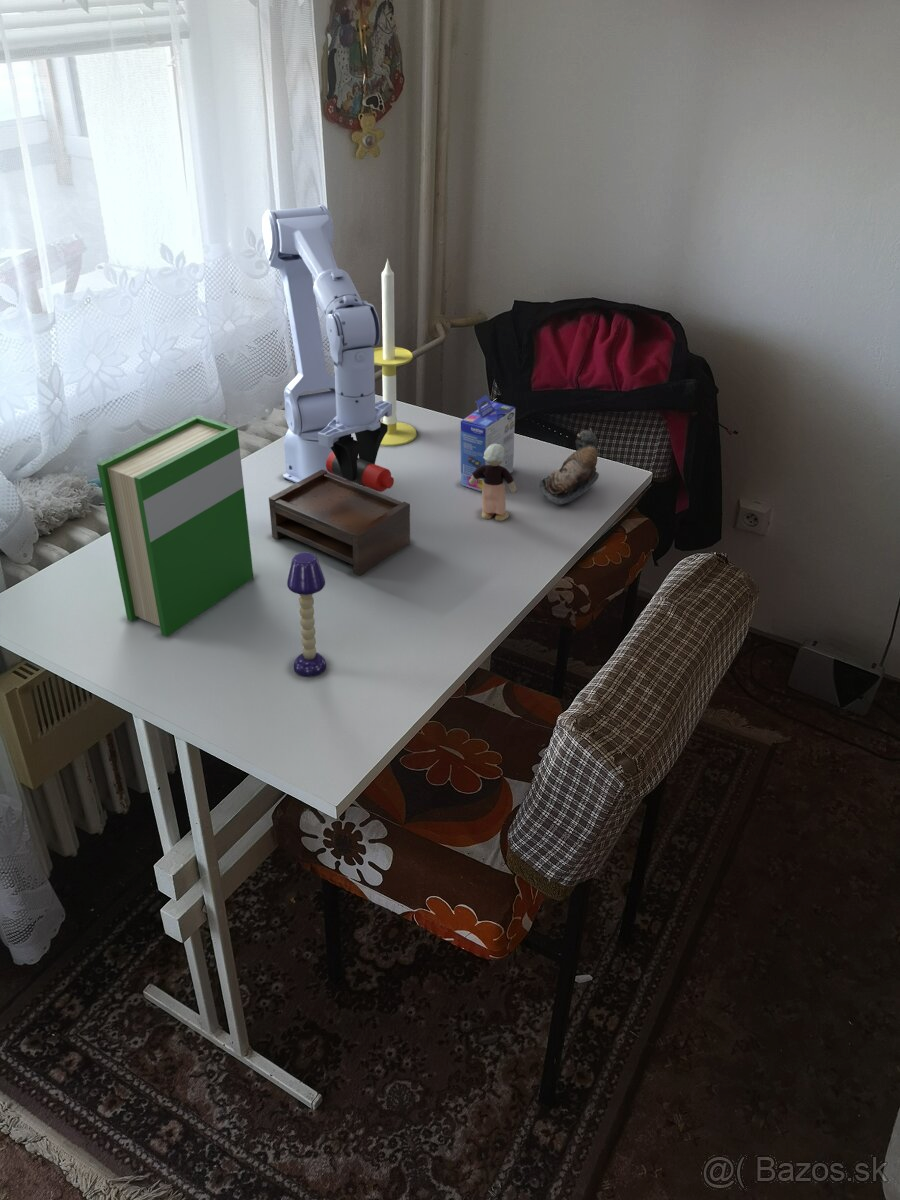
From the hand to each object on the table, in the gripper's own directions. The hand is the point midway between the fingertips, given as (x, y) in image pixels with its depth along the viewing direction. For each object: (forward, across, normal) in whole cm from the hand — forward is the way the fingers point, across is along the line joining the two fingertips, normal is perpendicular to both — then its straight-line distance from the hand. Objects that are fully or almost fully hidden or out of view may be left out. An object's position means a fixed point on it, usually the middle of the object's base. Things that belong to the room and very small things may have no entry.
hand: (358, 473), depth 157 cm
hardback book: (+11, -29, +7) cm, 31 cm away
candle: (+11, +30, +18) cm, 37 cm away
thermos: (+1, 0, 0) cm, 1 cm away
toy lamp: (+11, -30, -17) cm, 36 cm away
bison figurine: (+11, +31, -20) cm, 38 cm away
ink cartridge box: (+11, +27, -6) cm, 30 cm away
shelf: (+10, -4, +1) cm, 11 cm away
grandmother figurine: (+11, +17, -13) cm, 24 cm away
